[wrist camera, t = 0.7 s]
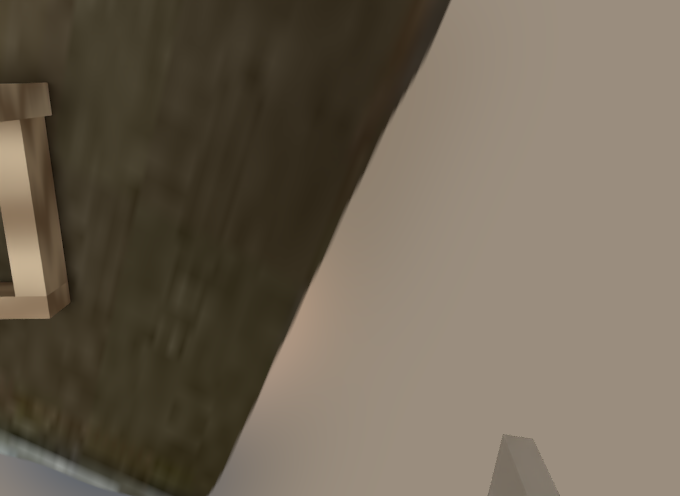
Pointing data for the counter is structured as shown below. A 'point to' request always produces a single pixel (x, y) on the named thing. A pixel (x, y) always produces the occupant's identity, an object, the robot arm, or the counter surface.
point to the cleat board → (29, 207)
